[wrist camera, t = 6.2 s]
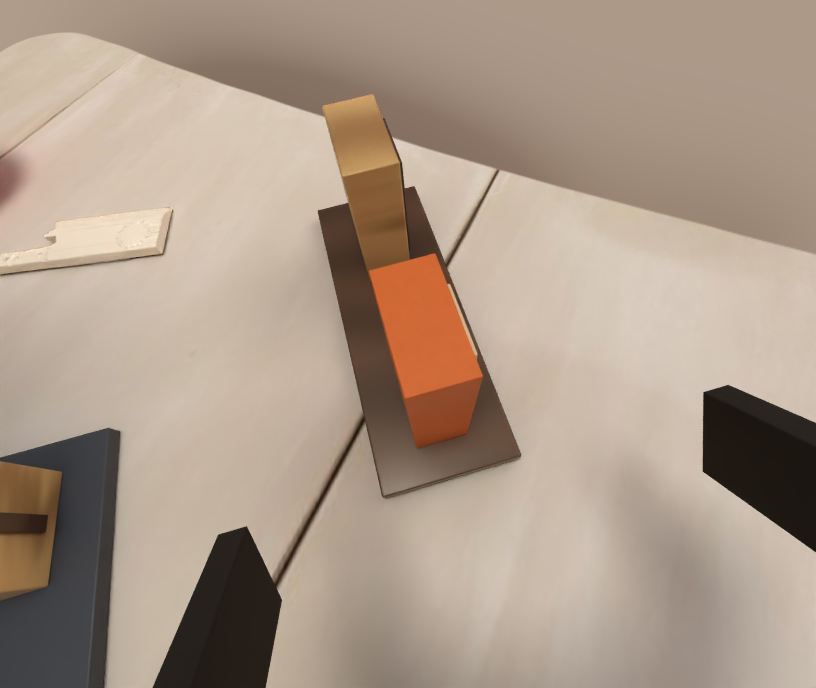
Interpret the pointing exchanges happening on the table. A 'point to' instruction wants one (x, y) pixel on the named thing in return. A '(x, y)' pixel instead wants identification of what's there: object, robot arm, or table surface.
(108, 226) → the white plastic strip tool
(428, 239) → the word board
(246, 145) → the table surface
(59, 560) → the word board
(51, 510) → the letter i
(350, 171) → the tan rectangular block
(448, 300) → the orange rectangular block
